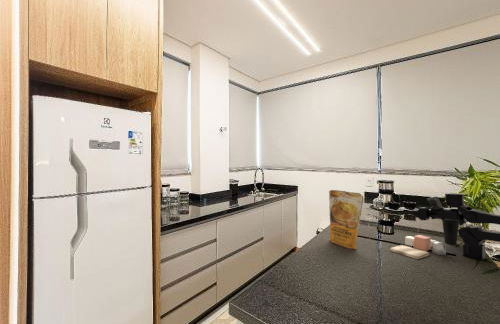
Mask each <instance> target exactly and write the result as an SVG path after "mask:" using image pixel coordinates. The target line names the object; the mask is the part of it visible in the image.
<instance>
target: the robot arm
mask: <svg viewBox="0 0 500 324" xmlns="http://www.w3.org/2000/svg"><path fill="white" fill-rule="evenodd" d="M444 196H445V205H446V206H447V207H448V208H447V207H445V206H443V205H442V203H441V201H440V199H439V197H438V196H437V195H436V196H431V197H428V198H427V199H426V200H427V201H428V203H429V205H430V207H424V206H423V207H418V208H417V209H416V210H415V209H414V210H408V211H407V212H408V214H409V215H411V216H413V217H415V218H417V219H419V221H424V222H425V221H429V220H430V218H431V220H441V221H442V220H453V221H459V226H463V227H461V228H460V227H459V228H458V236H459V237H460V238H461V239H462V241H463V244H462V256H463V257H466V258H470V259H474V260H476V261H477V260H478V261H484V260H485V259H487V256H486V247H485V246H486V244H485V242H486V241H489V242H490V241H492V242H498V243H500V231H494V230H493V231H492V230H487V229H484V228H483V225H475V224H492V225H500V214H494V213H491V212H488V211H484V210H482V209H477V208H476V209H475V208H472V207H471V206H469V205H467V204H465V201H464V200H465V199H464V198H465V194H464V193H457V192H456V193H455V192H454V193H453V192H452V193H451V192H450V193H449V192H448V193H444ZM450 207H451V209H450ZM467 223H470V224H468V225H466V224H467ZM464 225H466V226H464Z"/></svg>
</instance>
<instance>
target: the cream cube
mask: <svg viewBox="0 0 500 324" xmlns="http://www.w3.org/2000/svg"><path fill="white" fill-rule="evenodd" d="M404 238H405V240H404V246H408V247H412V246H413V247H412V248H414V236H411V235H409V236H408V235H407V236H405V237H404Z"/></svg>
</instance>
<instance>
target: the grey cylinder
mask: <svg viewBox="0 0 500 324" xmlns="http://www.w3.org/2000/svg"><path fill="white" fill-rule="evenodd" d="M446 244H447V243H445V242H442V241H439V242H438V240H435V241H432V247H431V252H432V254H434V255H438V256H446V255H447V252H446V251H447V248H446V246H447V245H446Z"/></svg>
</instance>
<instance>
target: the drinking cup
mask: <svg viewBox="0 0 500 324" xmlns="http://www.w3.org/2000/svg"><path fill="white" fill-rule="evenodd" d="M449 208H450V209H452V208H451V207H449ZM441 223H442V228H443V229H442V231H443V239H444V243H445V244H448V245H457V242H458V236H459V234H458V231H459V228H460V227H459V226H460V225H459V221H453V220H441Z"/></svg>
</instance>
